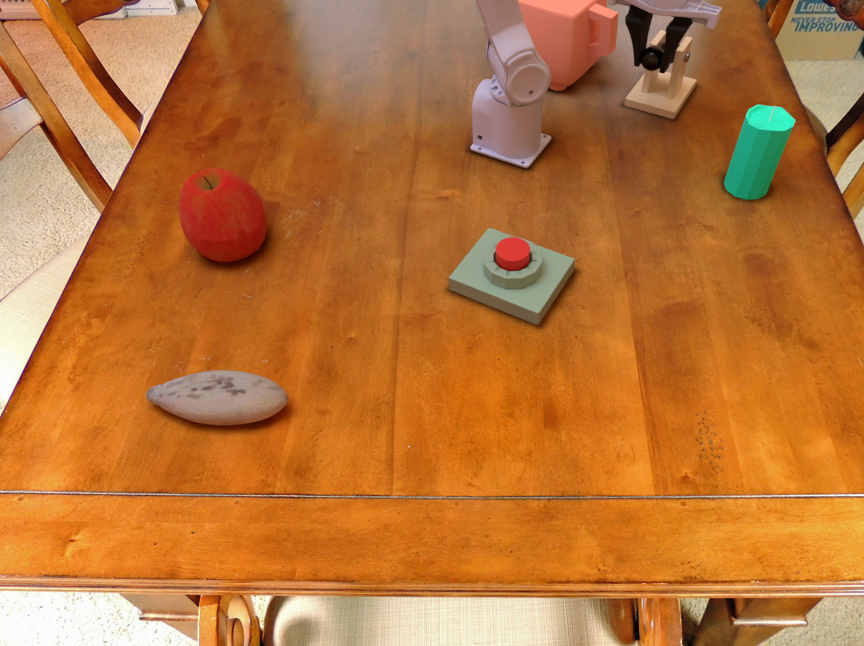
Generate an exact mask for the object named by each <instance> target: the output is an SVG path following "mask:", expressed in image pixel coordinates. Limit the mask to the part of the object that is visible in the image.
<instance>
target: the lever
mask: <svg viewBox="0 0 864 646" xmlns="http://www.w3.org/2000/svg"><path fill="white" fill-rule="evenodd" d="M680 45H681V43H679V45H678V47H679V46H680ZM649 46H650V45H649ZM649 46H648V47H646V49H645V50H644V51H643V53H642V56H641V64H640V65H641V66H642V68H643V69H644V70H645V69H646V70H648V71H656V70H658V69H659V70H660V64H661V60H662V57H663V53H664V46H665V42H664V43H662V45H661V48H660V47H658V46H650V47H649ZM678 47H677V49H678ZM677 49H676V50H677ZM675 54H676V51H675V53H674V55H673V57H672V59H671V62H670V64H672V65H673V63H674V59H675Z"/></svg>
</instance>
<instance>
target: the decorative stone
mask: <svg viewBox="0 0 864 646" xmlns="http://www.w3.org/2000/svg"><path fill="white" fill-rule="evenodd" d="M146 400H147V401H148V402H149V403H151V404H153V405H155V406H157V407H160V409H162V410H164V411H166V412H168V413H170V414H172V415H174V416H176V417H179V418H181V419H184V420H188V421H189V422H194V423H198V424H203V425H204V424H205V425H211V426H233V425H244V424H250V423H256V422H260V421H263V420H265V419H268V418H271V417H273V416H275V415H276V414H277V413H279V412H280V411H281V410H283V408H285V407H286V406H287V404H288V401H289V396H288V394H287V391H286V390H285V389H284V388H283V387H282V386H281V385H280V384H278V383H277V382H276V381H274V380H272V379H270V378H268V377H264V376H261V375H259V374H255V373H250V372H246V371H240V370H233V369H232V370H231V369H216V370H205V371H199V372H195V373H189V374H186V375H183V376H180V377H177V378H174V379H172V380H169V381H166V382H165V383H162V384H161V383H160V384H156V385H154V386H152V387H150V388H149V389H148V390H147V391H146Z"/></svg>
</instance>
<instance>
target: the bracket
mask: <svg viewBox="0 0 864 646" xmlns="http://www.w3.org/2000/svg"><path fill="white" fill-rule="evenodd" d="M665 37H666V30H663V29H660V30H659V31H658V33H657V34H656V35H655V37H653V39H652V40H651V42H650V43H649V46H648V47H650V46H658V47H660V48H661V45H662V43H664V42H665ZM693 40H694V37H692V36H688V35H686V36H685V37H684V38H683V39H682V42H680V46H679V47H678V49H677V50H676V54H675V59H674V63H672V67H671V68H672V69H671V72H669V71H666V72H665V73H664V74H663V73H659V70H660V68H659V69H658V70H656V71H648V70H646V69H644V72H643V74H642V75H641V77H640V78H639V79H638V80H637V82H636V83H635V84H634V85H633V87H632V88H631V90H630V91H629V92H628V94H627V95H626V97H625V98H624V103H623V106H625V107H629V108H632V109H634V110H635V109H636V110H639V111H643V112H646V113H650V114H653V115H656V116H659V117H660V116H661V117H664V118H667V119H671V120H674V119H675V118H676V116H677V115H678V113H679V112H680V110H681V109H682V107H683V106H684V104H685V103H686V101H687V100H688V98H689V97H690V95H691V94H692V92H693V90H694V89H695V87H696V84H697V81H698V80H697V79H696V78H692V77H688V76H685V74H686V69H687V65H688V62H689V60H690V57H691V48H692V44H693Z"/></svg>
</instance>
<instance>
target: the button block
mask: <svg viewBox="0 0 864 646" xmlns="http://www.w3.org/2000/svg"><path fill="white" fill-rule="evenodd" d="M509 237H515V236H514V235H511V234H509V233H506V232H503V231H499V230H497V229H495V228H492V227H488V228H487V229H486V230H485V232H484V233H483V234H482V235H481V237H480V238H479V239H478V240H477V241H476V243H475V244H474V245H473V246H472V248H471V249H470V250H469V251H468V253H467V254H466V255H465V256H464V258H463V259H462V260H461V261H460V262H459V264H458V265H457V267H456V268H455V269H454V270H453V271H452V273H451V274H450V275H449V276H448V285H449V290H450V291H451V292H453V293H456V294H459V295H461V296H463V297H466V298H468V299H470V300H473V301H476V302H479V303H480V304H484V305H487V307H490V308H493V309H496V310H499V311H501V312H503V313H506V314H509V315H511V316H513V317H516V318H518V319H520V320H523V321H525V322H528V323H530V324H533V325H536V326H539V325H540V323H542V320H543V318H544V317H545V315H546V314H547V313H548V311H549V309H550V308H551V307H552V305H553V303H554V302H555V300H556V299H557V297H558V296H559V294H560V292H561V291H562V290H563V288H564V286H565V285H566V284H567V282H568V281H569V279H570V278H571V276H572V274H573V273H574V270H575V262H576V258H574V257H571V256H569V255H566V254H563V253H560V252H558V251H555V250H552V249H550V248H546V247H544V246H542V245H538V244H536V243H534V242H533V241H531V240H528V239H526V238H523V237H520V236H516V237H517V238H521V239H523V240H525V241H526V242H527V243H528V244H529V246H530V261H529V264H528V265H527V266H526V267H525V268H524V269H522V270H520V271H507V270H504V269H502V268H500V267H499V266H498V265H497V263H496V246H497V244H498V243H499V242H500V241H501V240H503V239H505V238H509Z"/></svg>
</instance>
